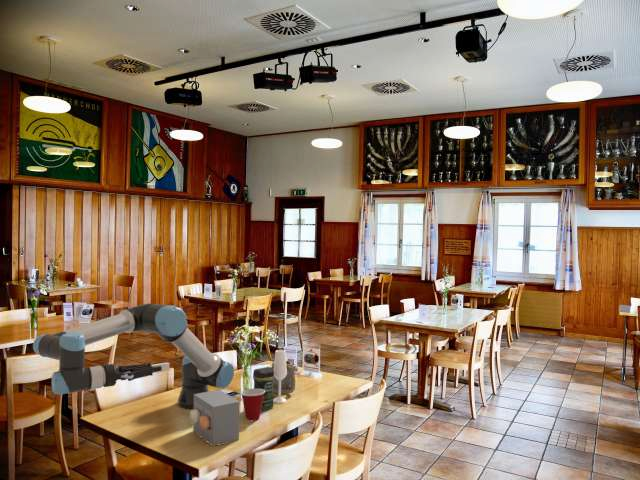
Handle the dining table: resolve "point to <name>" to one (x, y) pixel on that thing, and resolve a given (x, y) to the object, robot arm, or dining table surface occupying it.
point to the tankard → (286, 379)
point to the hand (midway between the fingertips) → (168, 366)
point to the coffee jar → (265, 385)
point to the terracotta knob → (204, 422)
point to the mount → (218, 416)
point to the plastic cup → (252, 403)
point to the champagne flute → (280, 372)
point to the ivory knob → (195, 416)
